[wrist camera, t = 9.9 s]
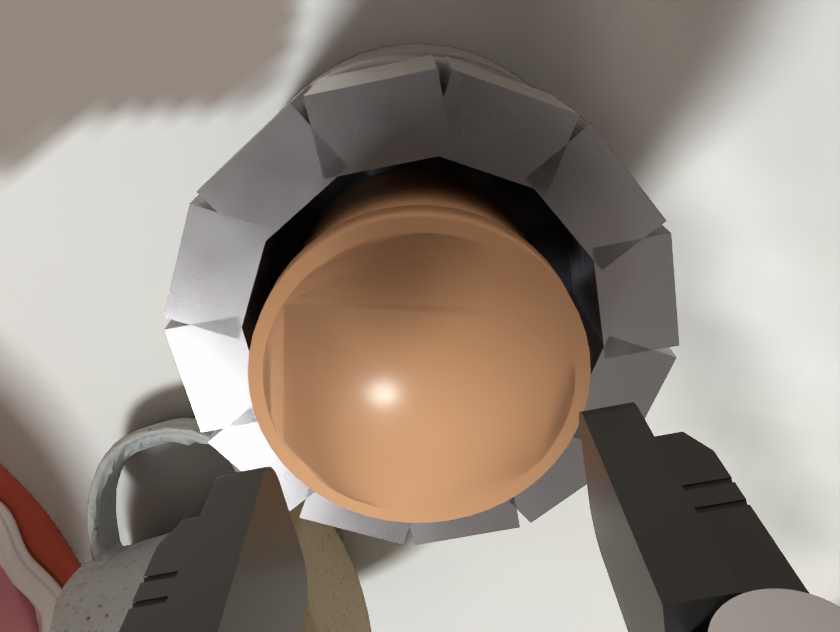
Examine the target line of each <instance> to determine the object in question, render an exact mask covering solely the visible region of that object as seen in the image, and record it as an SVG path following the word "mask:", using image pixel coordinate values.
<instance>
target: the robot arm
mask: <svg viewBox="0 0 840 632" xmlns="http://www.w3.org/2000/svg"><path fill="white" fill-rule="evenodd" d="M579 427H580V435H581V442H582V450H583V457H584V465H585V472H586V480H587V487H588V495H589V502H590V509H591V515H592V520H593V525H594V529H595V533H596V537H597V541H598V545H599V548H600V552H601V555H602V557H603V560H604V563H605V566H606V569H607V572H608V575H609V578H610V580H611V583H612V586H613V589H614V592H615V595H616V598H617V601H618V603H619V606H620V609H621V612H622V615H623V618H624V621H625V623H626V626H627V629H628V632H840V607H839V606H837V605H836V604H834V603H832V602H830V601H827V600H825V599H823V598H821V597H818V596H815V595H812V594H810V593H809V592H808V591H807V589H806V588H805V586H804V585H803V583H802V582H801V580H800V579H799V577H798V576H797V574H796V573H795V572H794V570H793V569H792V567H791V566H790V564H789V563H788V561H787V560H786V558H785V557H784V555H783V554H782V552H781V551H780V549H779V548H778V546H777V545H776V543H775V542H774V540H773V539H772V537H771V536H770V534H769V533H768V531H767V530H766V528H765V527H764V525H763V524H762V522H761V521H760V519H759V518H758V516H757V515H756V513H755V512H754V510H753V509H752V507H751V506H750V505H747V502H746V498H745V497H744V495H743V494H742V492H741V491H740V489H739V488H738V486H737V485H736V483H735V482H732V479H731V476H730V475H729V473H728V472H727V470H726V469H725V467H724V466H723V464H722V463H721V461H720V460H719V458H718V457H717V455H716V454H715V452H714V451H713V450H711V449H710V448H708V447H707V446H705V445H703V444H702V443H700V442H699V441H697V440H695V439H694V438H692V437H691V436H689V435H687V434H686V433H684V432H679V433H673V434H667V435H661V436H656V437H654V435H653V433H652V432H651V430H650V428H649V426H648V424H647V423H646V421H645V419H644V417H643V415H642V414H641V412H640V410H639V408H638V407H637V405H636V404H635V403H634V402H631V403H625V404H620V405H614V406H609V407H603V408H597V409H592V410H586V411H581V412H579ZM143 578H144V582H143V583H140V585H139V588H138V590H137V592H136V594H135V597H134V599H133V601H132V604H133V607H132V608H130V609H129V610H128V612H127V615H126V617H125V619H124V621H123V624H122V626H121V628H120V630H119V632H302V629H303V623H304V616H305V610H306V604H307V574H306V567H305V561H304V557H303V553H302V550H301V547H300V544H299V541H298V538H297V534H296V531H295V528H294V525H293V522H292V519H291V516H290V513H289V509H288V506H287V503H286V500H285V497H284V494H283V491H282V488H281V484H280V481H279V479H278V476H277V474H276V472H275V471H274V469H273V468H272V467H263V468H257V469H252V470H246V471H240V472H235V473H229V474H224V475H218V476H216V478H215V479H214V481H213V483H212V485H211V488H210V490H209V493H208V495H207V498H206V501H205V503H204V506H203V508H202V511H201V513H200V516H196V517H190V518H184V519H182V520H181V521H180V522H179V523H178V524H177V526H176V527H175V528H174V529H173V530H172V531H171V532H170V533H169V534H168V535H167V536H166V537H165V538H164V539H163V541H162V542H161V543H160V544H159V545H158V546H157V547H156V549H155V552H154V554H153V556H152V558H151V561H150V563H149V565H148V567H147V570H146V572H145V574H144V576H143Z"/></svg>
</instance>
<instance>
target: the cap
mask: <svg viewBox="0 0 840 632" xmlns="http://www.w3.org/2000/svg"><path fill="white" fill-rule="evenodd" d="M590 375H591V367H590V351H589V346H588V341H587V336H586V332H585V329H584V326H583V323H582V321H581V318H580V315H579V313H578V311H577V309H576V307H575V305H574V303H573V301H572V299H571V297H570V296H569V294H568V292H567V290H566V288H565V286H564V284H563V282H562V281H561V279H560V277H559V276H558V275H557V273H556V272H555V270H554V269H553V268H552V266H551V265H550V264H549V262H548V261H547V260H546V259H545V258H544V257H543V256H542V255H541V254H540V253H539V252H538V251H537V250H536V249H535V248H534V247H533V246H532V245H531V244H529V243H528V241H527V239H526V237H525V235H524V233H523V231H522V229H521V227H520V225H519V223H518V222H517V220H516V219H515V217H514V216H513V215H512V213H511V212H510V210H509V209H508V208H507V207H506V206H505V205H504V204H503V203H502V202H501V201H500V200H499V199H498V198H497V197H496V196H495V195H494V194H492V193H491V192H490V191H488V190H487V189H486V188H485V187H483V186H481V185H479V184H478V183H476V182H474V181H473V180H471V179H468V178H466V177H463V176H461V175H459V174H456V173H452V172H449V171H445V170H441V169H434V168H426V167H407V168H399V169H392V170H388V171H385V172H381V173H377V174H375V175H372V176H370V177H367V178H365V179H363V180H361V181H359V182H357V183H355V184H354V185H352V186H350V187H349V188H347V189H346V190H345V191H343V192H342V193H341V194H339V195H338V196H337V197H336V198H335V199H334V200H333V201H332V202H331V203H330V204H329V205H328V206H327V207H326V208H325V209H324V210H323V212H322V213H321V214H320V216H319V217H318V218H317V220H316V221H315V223H314V225H313V227H312V229H311V230H310V232H309V234H308V237H307V239H306V242H305V244H304V247H303V249H302V251H301V252H300V253H299V254H298V255H297V256H296V257H295V258H294V259H293V260H292V261H291V262H290V263H289V264H288V266H287V267H286V268H285V270H284V271H283V272H282V274H281V275H280V277H279V278H278V279H277V281H276V283H275V285H274V287H273V289H272V290H271V292H270V294H269V296H268V298H267V300H266V302H265V305H264V307H263V309H262V311H261V314H260V316H259V319H258V322H257V324H256V327H255V330H254V332H253V336H252V341H251V346H250V351H249V360H248V383H249V393H250V398H251V402H252V406H253V410H254V414H255V416H256V419H257V421H258V424H259V426H260V429H261V431H262V433H263V435H264V437H265V439H266V440H267V442H268V444H269V446H270V447H271V449H272V450H273V452H274V453H275V454H276V456H277V457H278V458H279V459H280V461H281V462H282V463H283V465H284V466H285V467H286V468H287V469H288V470H289V471H290V472H291V473H292V474H293V475H294V476H295V477H296V478H297V479H298V480H300V481H301V482H302V483H303V484H305V485H306V486H307V487H309V488H310V489H311V490H312V491H314V492H315V493H317V494H319V495H320V496H322V497H324V498H325V499H327V500H329V501H330V502H332V503H334V504H337V505H339V506H341V507H343V508H345V509H348V510H350V511H353V512H356V513H359V514H362V515H365V516H368V517H373V518H378V519H382V520H387V521H395V522H405V523H431V522H440V521H449V520H454V519H458V518H463V517H467V516H471V515H474V514H477V513H480V512H483V511H486V510H489V509H491V508H493V507H495V506H497V505H499V504H501V503H504V502H506V501H508V500H509V499H511V498H513V497H514V496H516V495H517V494H519V493H521V492H522V491H524V490H525V489H527V488H528V487H529V486H530V485H532V484H533V483H534V482H535V481H537V480H538V479H539V478H540V477H541V476H542V475H543V474H544V473H545V472H546V471H547V470H548V469H549V468H550V467H551V466H552V465H553V464H554V463H555V462H556V461H557V459H558V458H559V457H560V455H561V454H562V453H563V452H564V450H565V449H566V448H567V446H568V444H569V442H570V441H571V439H572V437H573V435H574V434H575V432H576V430H577V428H578V425H579V412H581V411H584V410H585V406H586V402H587V398H588V394H589V385H590Z"/></svg>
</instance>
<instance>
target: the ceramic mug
mask: <svg viewBox="0 0 840 632" xmlns="http://www.w3.org/2000/svg"><path fill="white" fill-rule="evenodd" d="M212 432H213V430H212V431H206V432H201V431H200V428H199V425H198V423H197V420H196V419H195V418H187V417H185V418H176V419H171V420H167V421H163V422H160V423H156V424H154V425H151V426H148V427H145V428H142V429H139V430H136V431H134V432H132V433H130V434H128V435H126V436H125V437H123V438H121V439H120V440H119V441H117V442H116V443H115V444H114V445H113V446H112V447H111V449H110V450H109V451H108V452H107V453H106V454H105V456H104V457H103V458H102V460H101V462H100V464H99V466H98V468H97V471H96V473H95V476H94V478H93V481H92V483H91V489H90V493H89V498H88V510H87V525H88V534H89V543H90V548H91V555H92V558H93V559H92V560H90V561H89V562H87V563H85V564H84V565H82V566H81V567H80V568H79V569H78V570H77V571H76V572H75V573H74V574H73V575H72V576H71V578H70V579H69V580H68V581H67V582H66V584H65V585H64V587H63V589H62V591H61V593H60V595H59V597H58V600H57V602H56V605H55V607H54V610H53V615H52V620H51V625H50V629H49V632H119V630H120V628H121V626H122V624H123V621H124V619H125V617H126V615H127V612H128V610H129V609H130V608H132V607H133V604H132V601H133V599H134V597H135V594H136V592H137V590H138V588H139V585H140V583H143V582H144V578H143V576H144V574H145V572H146V570H147V567H148V565H149V563H150V561H151V558H152V556H153V554H154V552H155V549H156V547H157V546H158V545H159V544H160V543H161V542H162V541H163V539H164V538H165V537H166V536H167V535H168V534H169V533H167V534H164V535H160V536H157V537H153V538H150V539H144V540H143V541H141V542H137V543H135V544H132V545H127V546H122V544H121V542H120V538H119V531H118V526H117V518H116V488H117V484H118V480H119V477H120V474H121V471H122V468H123V466H124V464H125V462H126V460H127V459H128V458H130V457H131V456H133V455H134V454H135V453H136V452H139V451H142V450H145V449H148V448H151V447H154V446H158V445H162V444H166V443H170V442H177V443H181V444H184V445H188V446H189V445H191V444H193V443H196V442H198V443H200V444H209V443H208V441H209V439H210V436H211V434H212ZM209 445H210V444H209ZM211 446H212V445H211ZM224 458H225V457H224ZM226 459H227V458H226ZM227 460H228V459H227ZM230 463H231V462H230ZM231 465H232V467H233V468H234V470H235V472H240V471H241V470H239V469H238V468H237V467H236V466H235V465H234V464H232V463H231ZM302 502H303V501H302ZM302 502H301V503H300V504H299V505H297V506H296V507H295V508H293V509H292V510H291V511H289V513H290V516H291V519H292V522H293V525H294V528H295V531H296V534H297V538H298V541H299V544H300V547H301V550H302V553H303V557H304V561H305V567H306V574H307V604H306V610H305V616H304V623H303V629H302V632H371V627H370V621H369V616H368V611H367V607H366V603H365V599H364V595H363V592H362V588H361V585H360V582H359V579H358V576H357V573H356V570H355V568H354V566H353V564H352V561H351V559H350V557H349V555H348V552H347V550H346V547H345V545H344V544H343V542H342V540H341V539H340V537H339V535H338V533H337V532H336V530H335V528H334V527H333V526H329V525H326V524H322V523H318V522H314V521H310V520H307V519H303V518H299V517H300V512H301V507H302Z"/></svg>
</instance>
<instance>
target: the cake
mask: <svg viewBox="0 0 840 632" xmlns="http://www.w3.org/2000/svg"><path fill="white" fill-rule="evenodd" d="M80 567H81V566H80V565H79V563H78V561H77V559H76V557H75V555H74V553H73V552H72V550H71V548H70V547H69V545H68V543H67V542H66V540H65V539H64V537H63V536H62V534H61V532H60V531H59V530H58V528H57V527H56V525H55V524H54V523H53V521H52V520H51V518H50V517H49V516H48V515H47V513H46V512H45V511H44V510H43V508H42V507H41V506H40V505H39V504H38V502H37V501H36V500H35V499H34V498H33V497H32V496H31V494H30V493H29V492H28V491H27V490H26V489H25V488H24V487H23V486H22V485H21V484H20V483H19V482H18V481H17V480H16V479H15V478H14V477H13V476H12V475H11V474H10V473H9V472H8V471H7V470H6V469H5V468H4V467H3V466H2V465H1V464H0V632H49V629H50V625H51V620H52V615H53V610H54V607H55V605H56V602H57V600H58V597H59V595H60V593H61V591H62V589H63V587H64V585H65V584H66V582H67V581H68V580H69V579H70V578H71V576H72V575H73V574H74V573H75V572H76V571H77V570H78V569H79V568H80Z"/></svg>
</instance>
